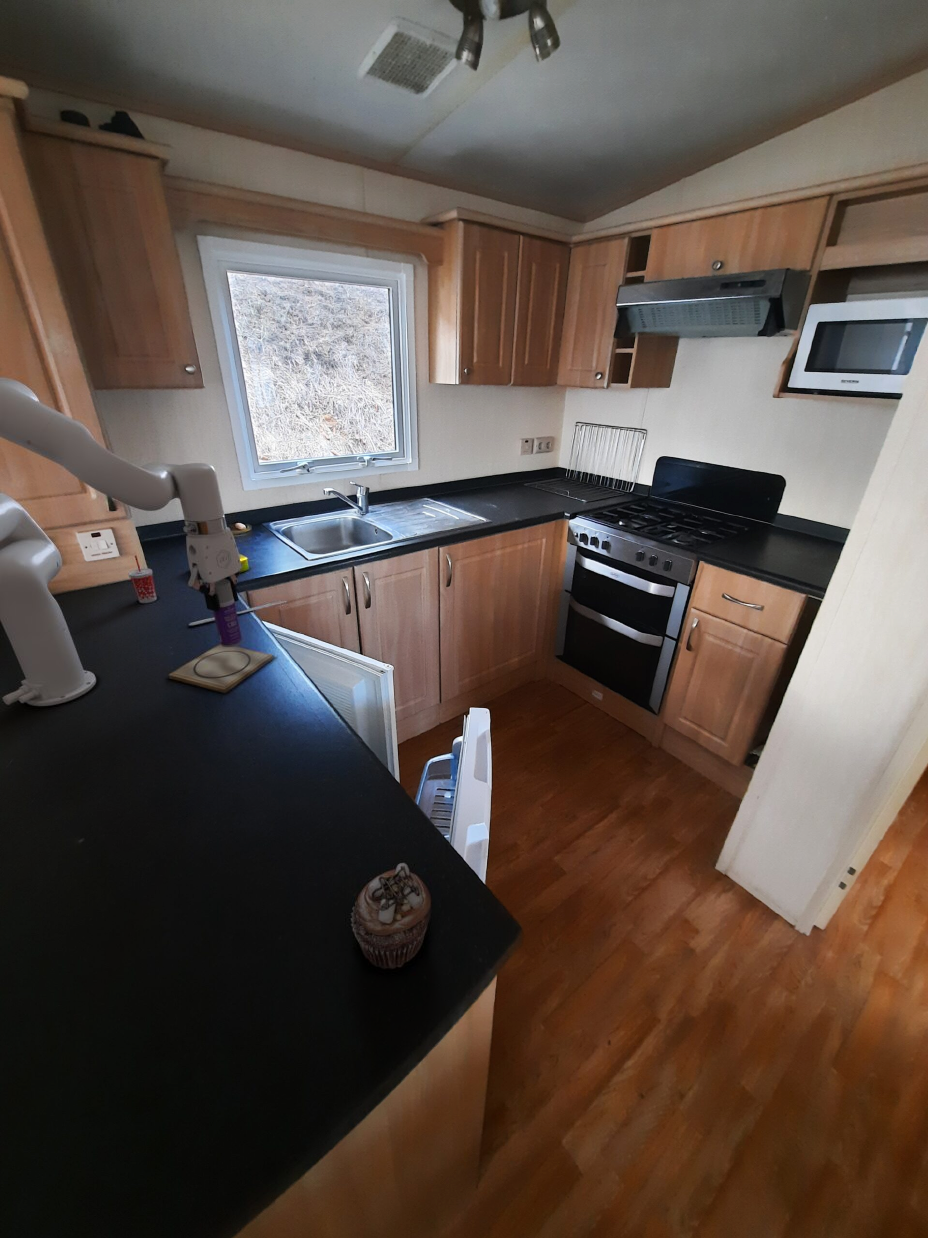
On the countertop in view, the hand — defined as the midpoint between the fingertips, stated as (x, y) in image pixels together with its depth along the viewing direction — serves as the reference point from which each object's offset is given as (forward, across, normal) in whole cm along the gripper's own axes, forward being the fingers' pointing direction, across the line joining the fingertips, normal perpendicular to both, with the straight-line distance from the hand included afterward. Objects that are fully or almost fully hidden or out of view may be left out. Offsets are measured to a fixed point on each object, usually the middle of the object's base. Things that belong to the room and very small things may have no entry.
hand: (223, 604), depth 113 cm
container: (+10, 0, 0) cm, 10 cm away
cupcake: (+16, -44, -64) cm, 80 cm away
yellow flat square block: (+16, +48, +50) cm, 71 cm away
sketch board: (+16, -2, +2) cm, 16 cm away
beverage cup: (+16, +20, +51) cm, 57 cm away
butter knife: (+16, +23, +19) cm, 34 cm away
